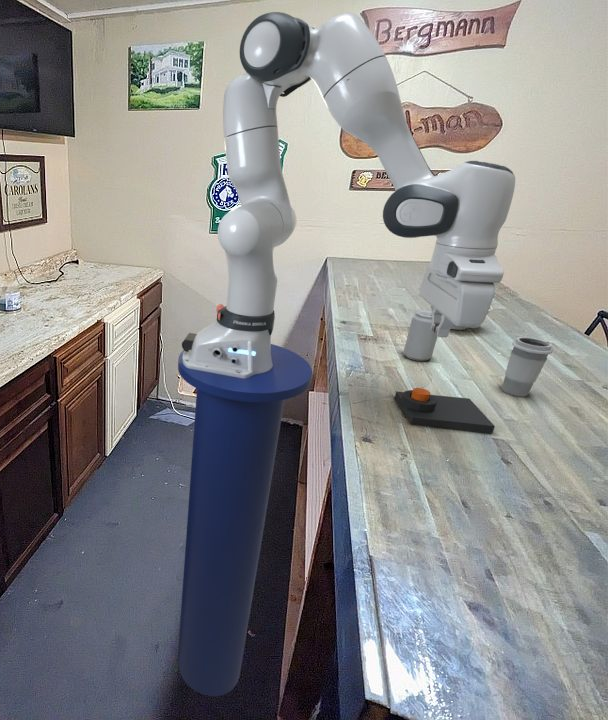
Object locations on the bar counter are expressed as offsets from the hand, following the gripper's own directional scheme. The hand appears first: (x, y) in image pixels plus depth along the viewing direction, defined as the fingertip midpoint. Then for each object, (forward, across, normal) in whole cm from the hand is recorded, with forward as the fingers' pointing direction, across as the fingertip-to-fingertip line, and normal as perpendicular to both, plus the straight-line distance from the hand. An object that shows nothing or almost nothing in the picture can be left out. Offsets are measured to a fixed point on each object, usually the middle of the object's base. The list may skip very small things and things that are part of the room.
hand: (438, 334), depth 87 cm
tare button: (+14, 0, 0) cm, 14 cm away
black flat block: (+17, 0, +4) cm, 18 cm away
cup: (+17, -15, +24) cm, 34 cm away
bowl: (+17, -60, +28) cm, 69 cm away
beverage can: (+17, -31, +10) cm, 37 cm away
